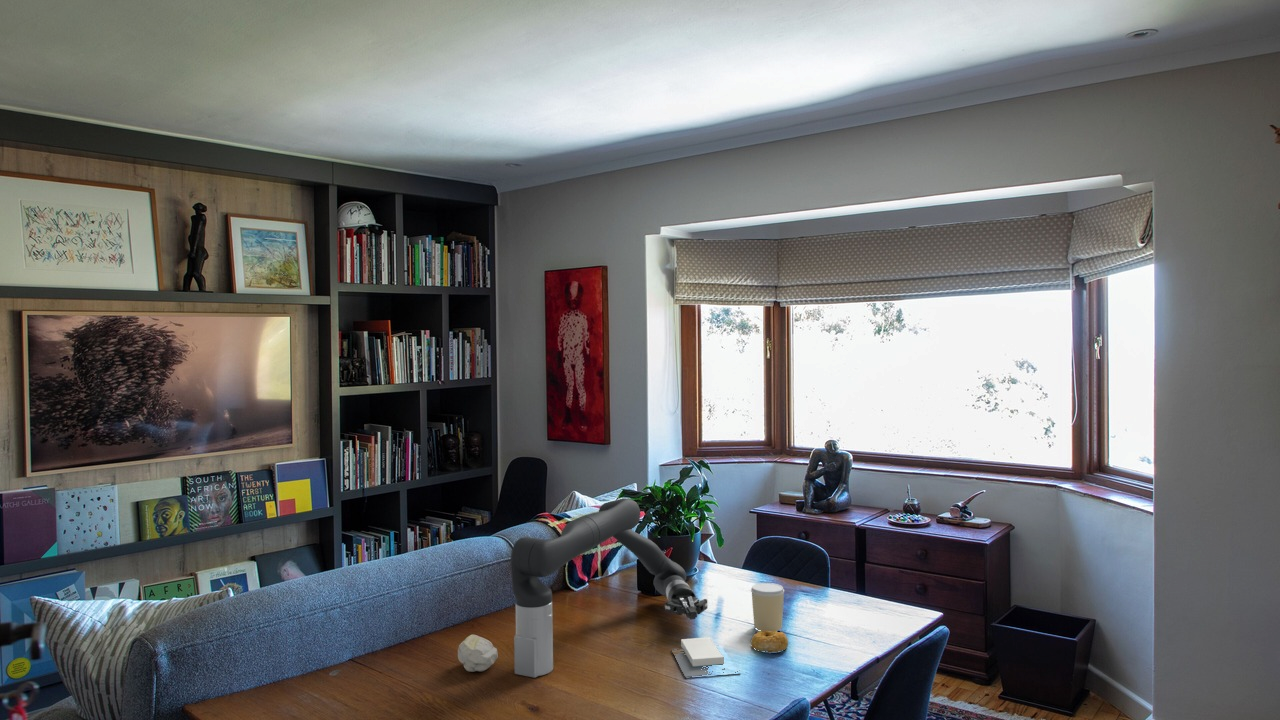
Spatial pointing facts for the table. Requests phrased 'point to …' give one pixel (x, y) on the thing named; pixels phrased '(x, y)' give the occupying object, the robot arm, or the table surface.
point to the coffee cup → (767, 606)
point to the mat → (690, 666)
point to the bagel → (769, 641)
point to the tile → (702, 652)
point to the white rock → (476, 653)
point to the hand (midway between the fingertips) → (693, 615)
